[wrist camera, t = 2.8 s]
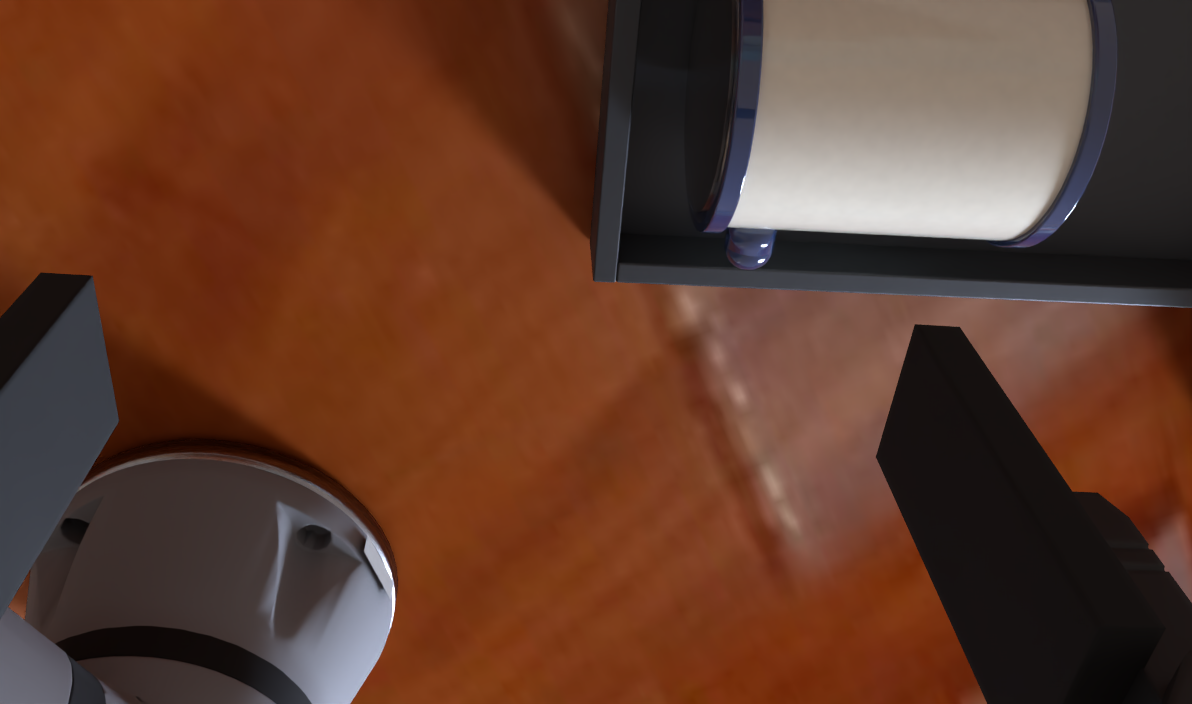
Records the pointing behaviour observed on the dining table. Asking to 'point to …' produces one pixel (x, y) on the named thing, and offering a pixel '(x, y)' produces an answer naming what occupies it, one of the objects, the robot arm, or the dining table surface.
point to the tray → (904, 263)
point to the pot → (894, 117)
